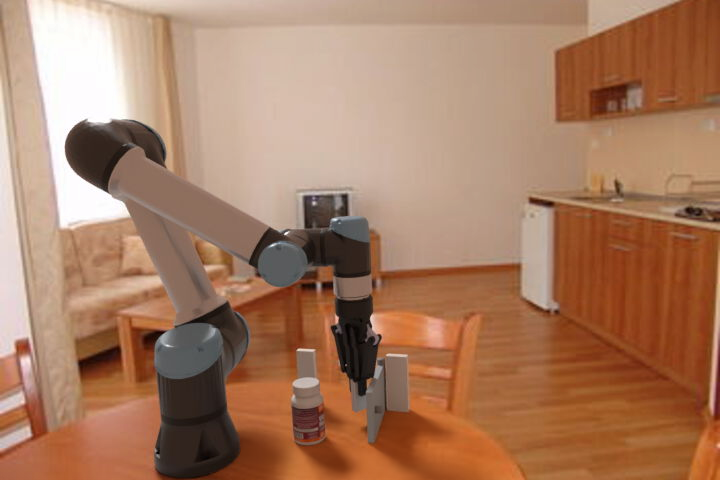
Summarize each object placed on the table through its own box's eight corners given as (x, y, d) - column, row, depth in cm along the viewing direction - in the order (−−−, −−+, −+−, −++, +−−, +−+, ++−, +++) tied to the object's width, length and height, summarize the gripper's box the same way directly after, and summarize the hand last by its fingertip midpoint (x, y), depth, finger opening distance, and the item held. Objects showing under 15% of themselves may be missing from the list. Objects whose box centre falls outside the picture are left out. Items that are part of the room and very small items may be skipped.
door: (379, 406, 121) (377, 357, 119) (391, 407, 120) (390, 357, 119) (366, 442, 106) (364, 387, 104) (380, 443, 105) (378, 387, 104)
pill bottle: (327, 443, 106) (324, 386, 104) (294, 448, 105) (291, 390, 103) (323, 428, 112) (320, 374, 110) (291, 433, 111) (288, 378, 109)
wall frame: (299, 403, 124) (296, 350, 122) (301, 400, 126) (298, 348, 124) (408, 412, 118) (406, 357, 116) (409, 409, 119) (408, 354, 117)
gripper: (390, 296, 108) (395, 412, 112) (346, 287, 118) (352, 394, 121) (361, 304, 103) (367, 425, 107) (318, 294, 113) (324, 405, 116)
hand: (359, 409), depth 114 cm, fingers closed
